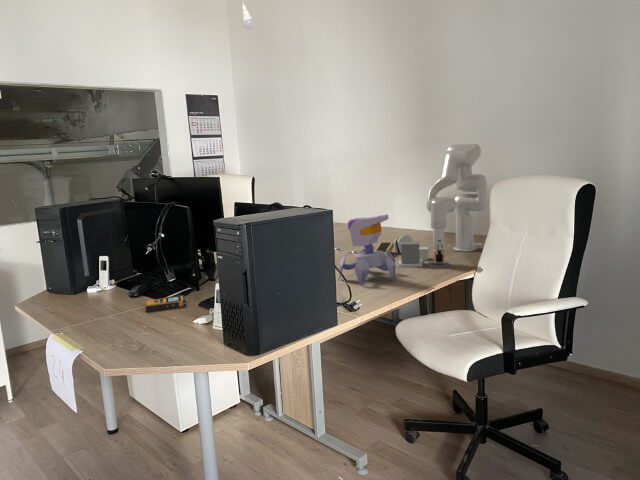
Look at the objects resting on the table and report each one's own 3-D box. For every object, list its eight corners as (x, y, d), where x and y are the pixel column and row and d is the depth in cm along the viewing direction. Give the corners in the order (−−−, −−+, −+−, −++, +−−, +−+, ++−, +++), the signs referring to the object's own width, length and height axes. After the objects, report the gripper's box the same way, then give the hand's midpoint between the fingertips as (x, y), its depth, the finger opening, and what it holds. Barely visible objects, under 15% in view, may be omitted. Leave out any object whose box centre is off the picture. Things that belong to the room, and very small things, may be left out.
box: (394, 249, 281) (393, 241, 280) (385, 265, 262) (385, 256, 260) (380, 249, 284) (379, 241, 283) (370, 265, 265) (370, 256, 263)
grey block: (427, 258, 263) (427, 247, 262) (428, 260, 258) (428, 249, 257) (418, 258, 264) (418, 247, 263) (418, 260, 259) (418, 249, 258)
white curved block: (404, 254, 274) (398, 237, 274) (397, 256, 277) (391, 239, 277) (417, 248, 287) (412, 232, 287) (410, 250, 290) (405, 234, 290)
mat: (448, 263, 249) (448, 261, 249) (450, 268, 240) (450, 266, 239) (428, 263, 251) (428, 261, 251) (429, 268, 241) (429, 266, 241)
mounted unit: (421, 261, 255) (421, 240, 253) (422, 266, 246) (422, 244, 243) (398, 262, 257) (398, 241, 255) (398, 266, 247) (398, 245, 245)
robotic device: (363, 268, 247) (361, 209, 242) (408, 275, 231) (407, 212, 226) (331, 281, 227) (328, 217, 222) (378, 289, 211) (376, 220, 206)
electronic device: (146, 307, 205) (145, 299, 204) (185, 301, 209) (184, 294, 209) (146, 313, 197) (144, 305, 196) (186, 307, 201) (185, 299, 201)
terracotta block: (443, 260, 247) (443, 248, 246) (444, 262, 242) (444, 250, 241) (433, 260, 248) (433, 249, 247) (434, 262, 243) (434, 251, 242)
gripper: (429, 222, 250) (430, 257, 254) (432, 227, 234) (432, 264, 237) (445, 221, 249) (445, 256, 252) (448, 227, 232) (448, 264, 236)
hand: (438, 260), depth 245 cm, fingers closed on terracotta block, 5 cm apart
